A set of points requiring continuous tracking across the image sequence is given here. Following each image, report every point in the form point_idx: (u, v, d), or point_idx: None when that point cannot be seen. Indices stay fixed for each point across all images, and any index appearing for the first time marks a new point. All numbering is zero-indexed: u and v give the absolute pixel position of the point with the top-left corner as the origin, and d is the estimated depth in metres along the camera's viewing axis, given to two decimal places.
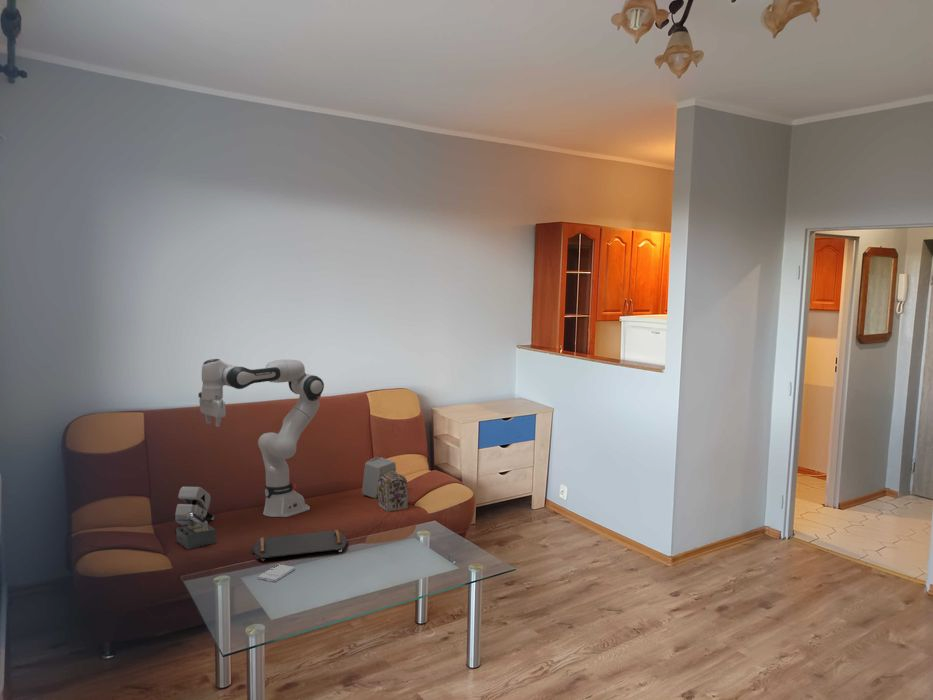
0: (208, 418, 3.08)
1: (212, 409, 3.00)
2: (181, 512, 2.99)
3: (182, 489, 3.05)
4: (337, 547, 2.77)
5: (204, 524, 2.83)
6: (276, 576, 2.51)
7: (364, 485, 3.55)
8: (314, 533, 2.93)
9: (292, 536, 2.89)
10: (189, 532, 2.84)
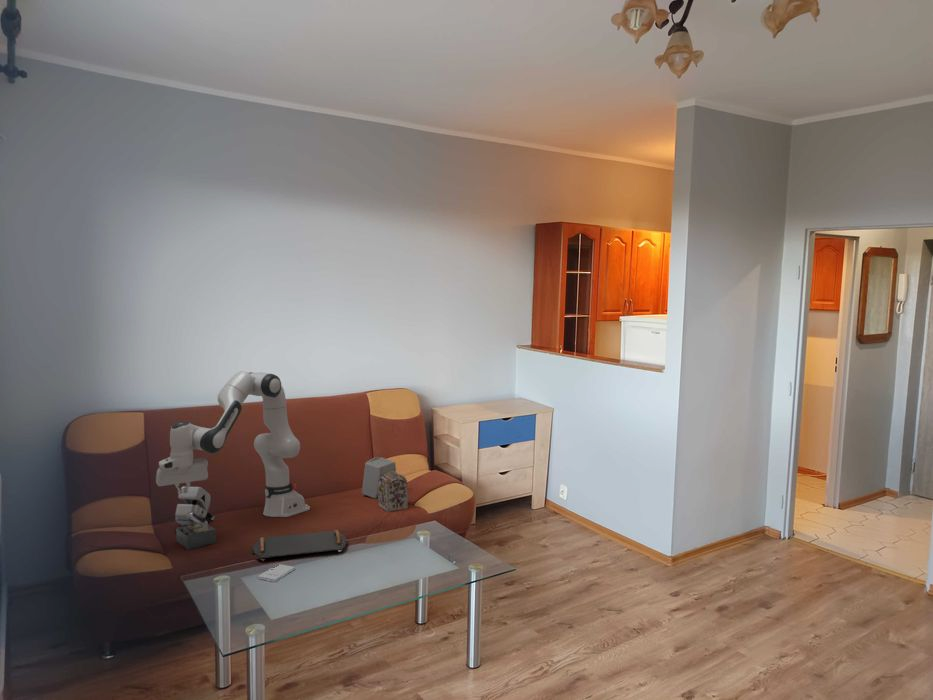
0: None
1: (192, 474, 2.82)
2: (181, 512, 3.00)
3: (182, 489, 3.05)
4: (337, 547, 2.77)
5: (204, 524, 2.83)
6: (276, 576, 2.51)
7: (364, 485, 3.55)
8: (314, 533, 2.93)
9: (292, 536, 2.89)
10: (189, 532, 2.84)
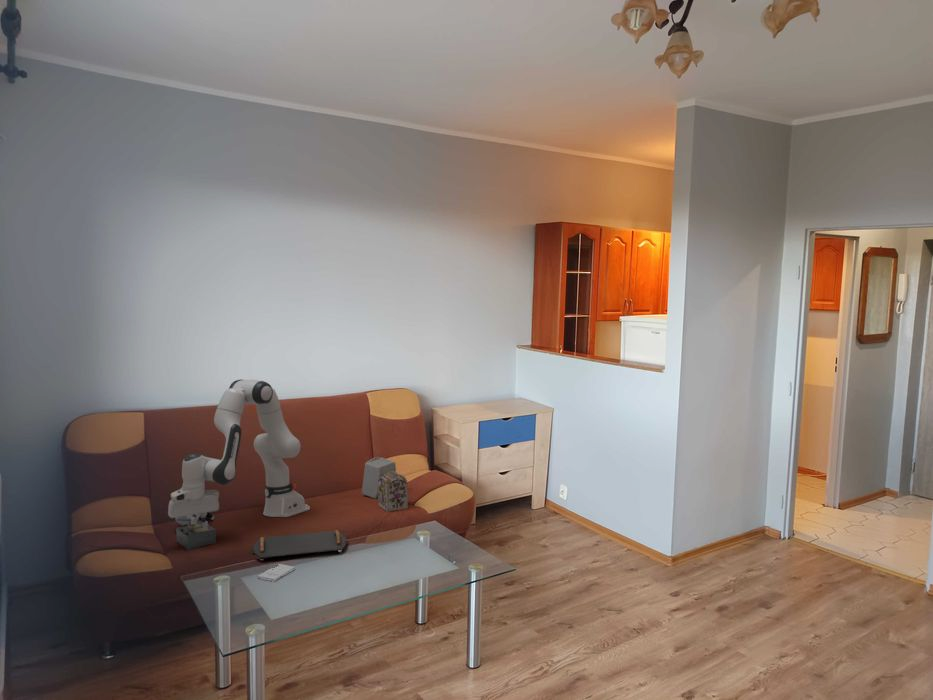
0: (192, 519, 2.85)
1: (203, 505, 2.86)
2: None
3: None
4: (336, 547, 2.76)
5: (204, 524, 2.83)
6: (276, 576, 2.52)
7: (364, 485, 3.55)
8: (315, 533, 2.93)
9: (292, 536, 2.89)
10: (189, 532, 2.84)
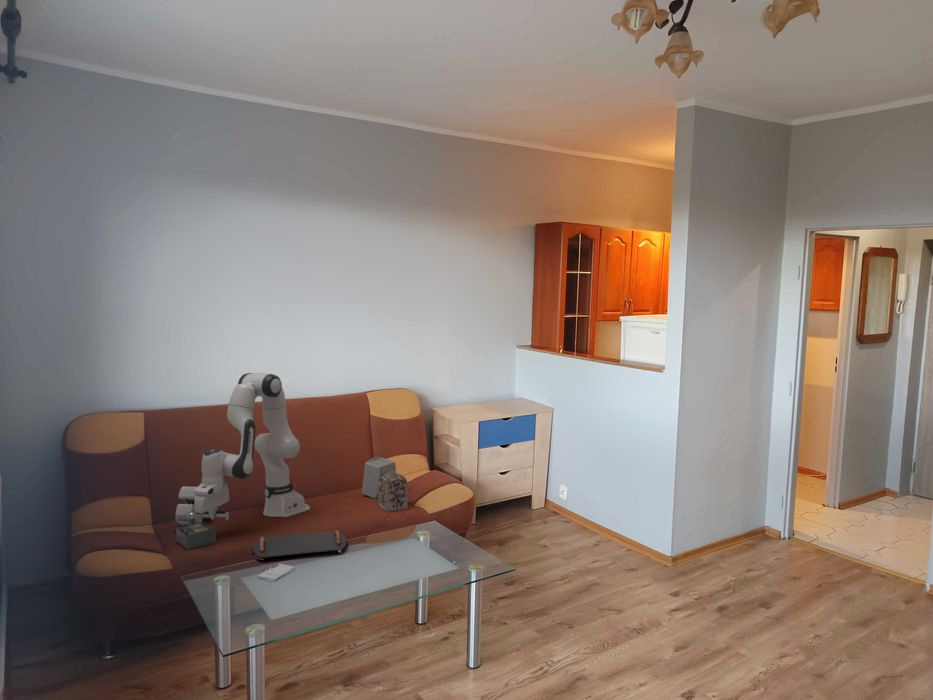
0: None
1: (221, 498, 2.96)
2: (181, 512, 3.00)
3: (182, 489, 3.05)
4: (336, 548, 2.76)
5: (227, 514, 2.96)
6: (276, 575, 2.52)
7: (364, 485, 3.55)
8: (315, 533, 2.93)
9: (292, 536, 2.89)
10: (189, 532, 2.84)
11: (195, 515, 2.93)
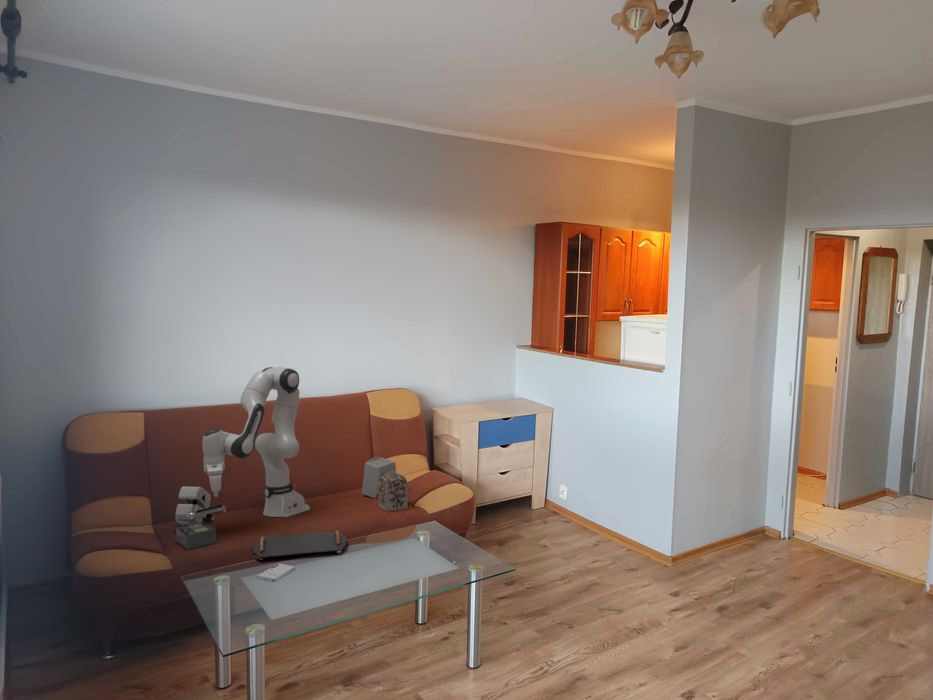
0: None
1: None
2: (181, 512, 3.00)
3: (182, 489, 3.05)
4: (336, 548, 2.76)
5: None
6: (276, 575, 2.52)
7: (364, 485, 3.55)
8: (315, 533, 2.93)
9: (293, 536, 2.89)
10: (189, 532, 2.84)
11: (197, 514, 2.95)
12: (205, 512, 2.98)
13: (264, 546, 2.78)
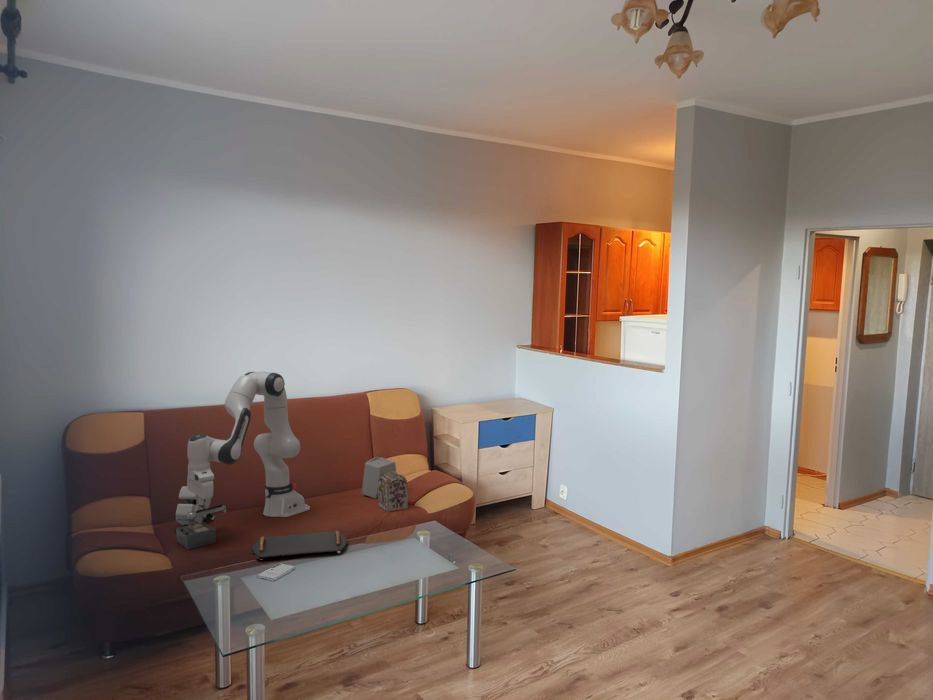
0: None
1: None
2: (181, 511, 3.00)
3: (182, 489, 3.05)
4: (335, 548, 2.75)
5: None
6: (275, 575, 2.52)
7: (364, 485, 3.55)
8: (316, 533, 2.93)
9: (293, 536, 2.90)
10: (189, 532, 2.84)
11: (197, 514, 2.95)
12: (205, 512, 2.98)
13: (264, 546, 2.78)
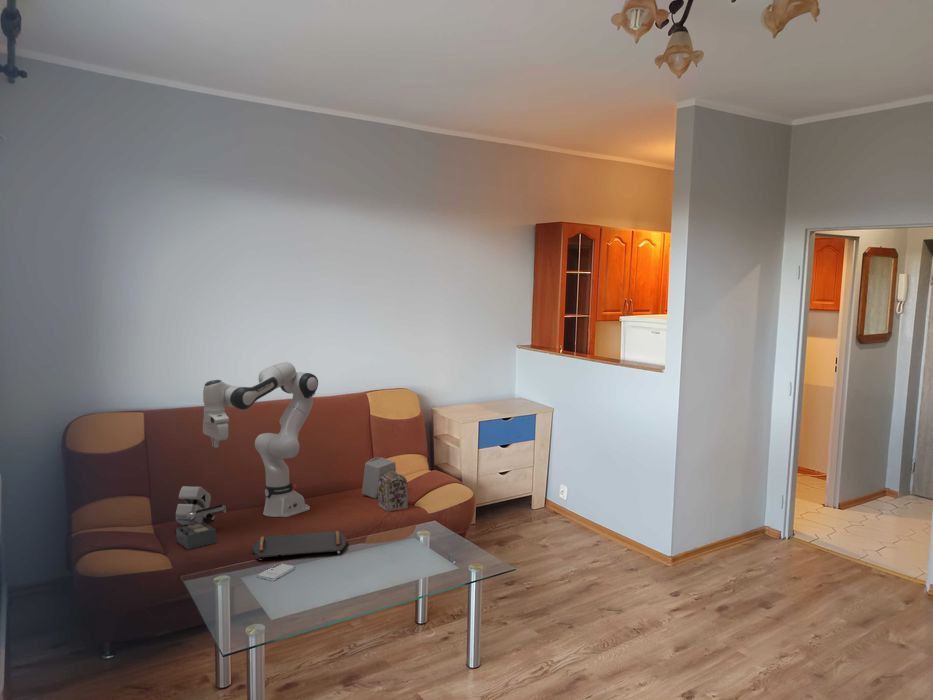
0: None
1: None
2: (181, 511, 3.00)
3: (182, 489, 3.06)
4: (335, 548, 2.75)
5: None
6: (275, 575, 2.52)
7: (364, 485, 3.55)
8: (316, 533, 2.93)
9: (293, 536, 2.90)
10: (189, 532, 2.84)
11: (197, 514, 2.95)
12: (205, 512, 2.98)
13: (264, 546, 2.78)
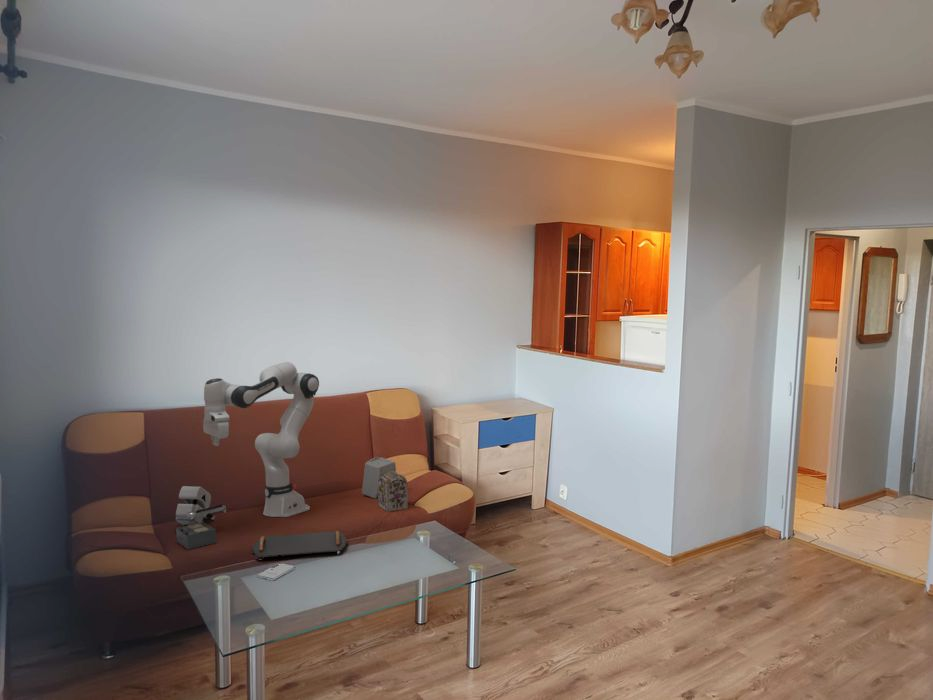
0: None
1: None
2: (181, 511, 3.00)
3: (182, 489, 3.06)
4: (335, 549, 2.75)
5: None
6: (275, 575, 2.52)
7: (364, 485, 3.55)
8: (316, 533, 2.93)
9: (293, 536, 2.90)
10: (189, 532, 2.84)
11: (197, 514, 2.95)
12: (205, 512, 2.98)
13: (264, 546, 2.78)
